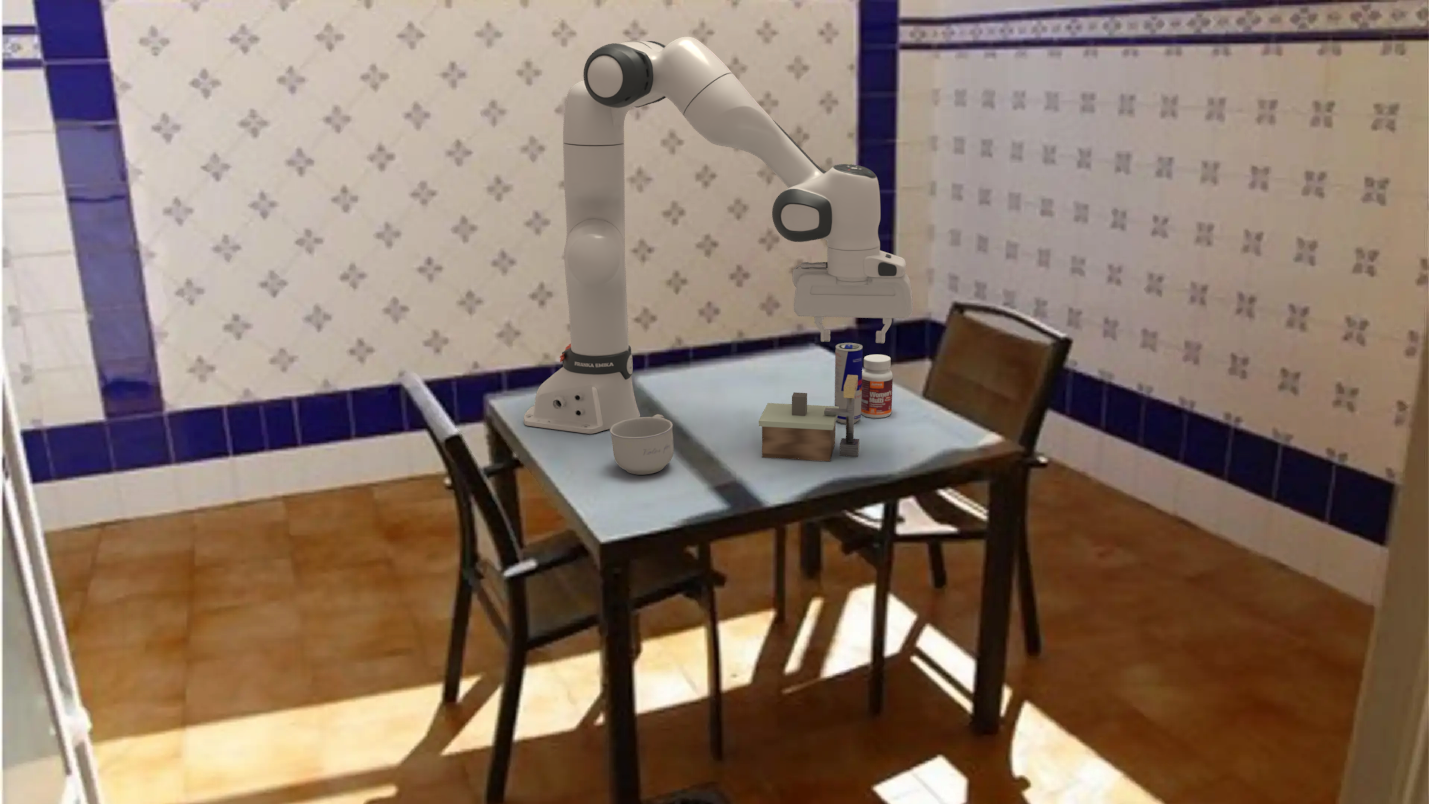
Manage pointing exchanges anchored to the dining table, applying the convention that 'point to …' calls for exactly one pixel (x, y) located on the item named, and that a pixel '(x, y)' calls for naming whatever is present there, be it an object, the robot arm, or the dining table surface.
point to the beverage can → (846, 364)
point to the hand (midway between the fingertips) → (852, 341)
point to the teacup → (643, 444)
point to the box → (798, 443)
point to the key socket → (849, 448)
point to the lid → (797, 415)
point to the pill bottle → (876, 386)
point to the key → (847, 406)
